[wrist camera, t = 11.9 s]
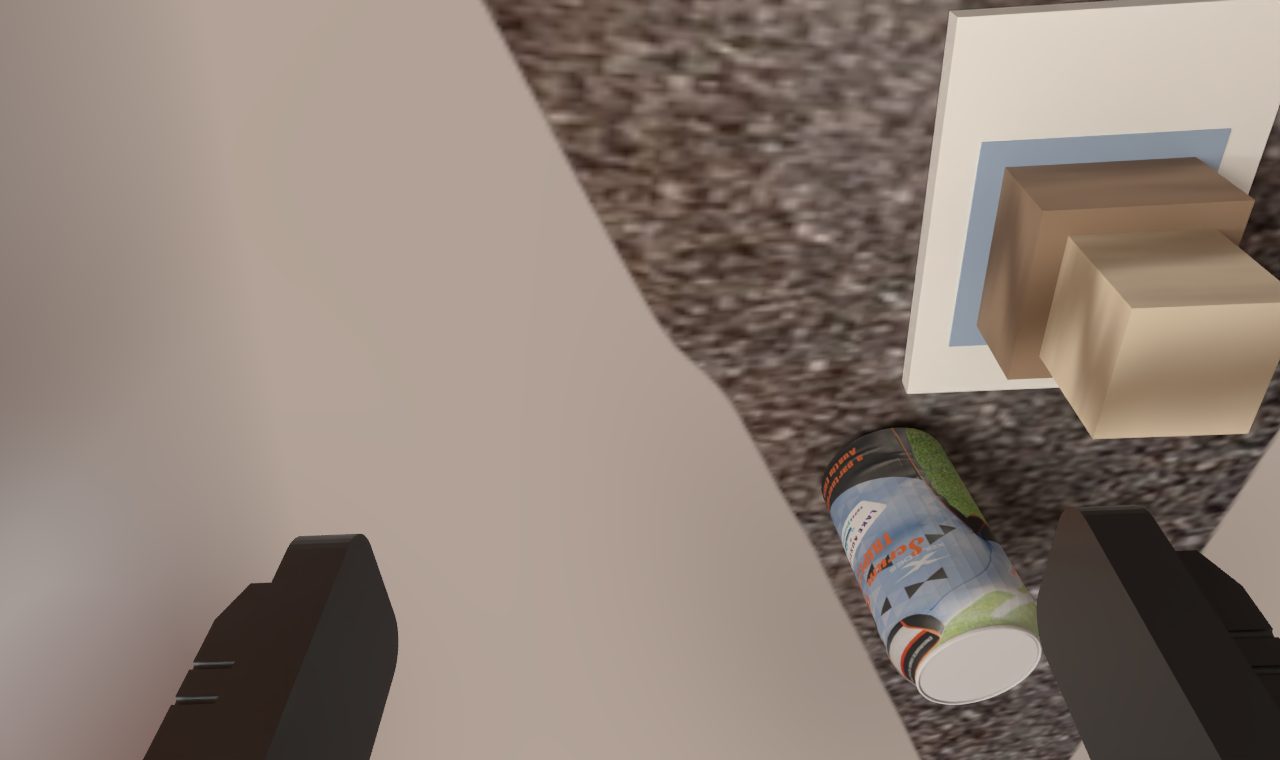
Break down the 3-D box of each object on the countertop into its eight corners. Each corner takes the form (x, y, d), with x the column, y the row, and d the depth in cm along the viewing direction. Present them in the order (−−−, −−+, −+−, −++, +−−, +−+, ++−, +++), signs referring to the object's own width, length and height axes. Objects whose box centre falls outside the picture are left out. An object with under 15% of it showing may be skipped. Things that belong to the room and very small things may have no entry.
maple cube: (1068, 235, 31) (1132, 308, 26) (1216, 228, 30) (1304, 301, 26) (1039, 356, 33) (1092, 439, 29) (1175, 351, 33) (1247, 433, 29)
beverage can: (838, 402, 41) (896, 602, 31) (988, 426, 42) (1091, 630, 32) (800, 500, 45) (841, 708, 35) (938, 521, 45) (1017, 730, 35)
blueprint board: (949, 10, 31) (958, 18, 30) (1300, -12, 31) (1319, -5, 30) (902, 381, 40) (907, 395, 39) (1171, 369, 40) (1183, 383, 39)
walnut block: (1005, 167, 33) (1043, 211, 30) (1195, 156, 33) (1255, 200, 30) (976, 325, 37) (1007, 379, 34) (1146, 317, 37) (1193, 371, 34)
